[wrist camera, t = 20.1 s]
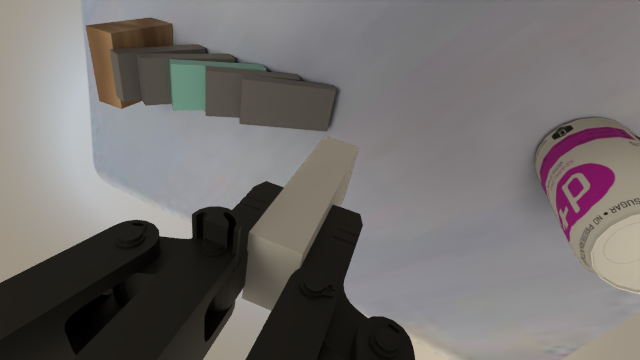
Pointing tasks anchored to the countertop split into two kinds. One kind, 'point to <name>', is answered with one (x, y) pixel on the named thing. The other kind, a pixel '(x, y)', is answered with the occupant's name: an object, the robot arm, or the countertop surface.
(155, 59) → the domino
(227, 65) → the domino
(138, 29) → the end block
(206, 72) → the domino
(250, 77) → the domino
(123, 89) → the domino
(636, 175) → the supplement can
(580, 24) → the countertop surface
